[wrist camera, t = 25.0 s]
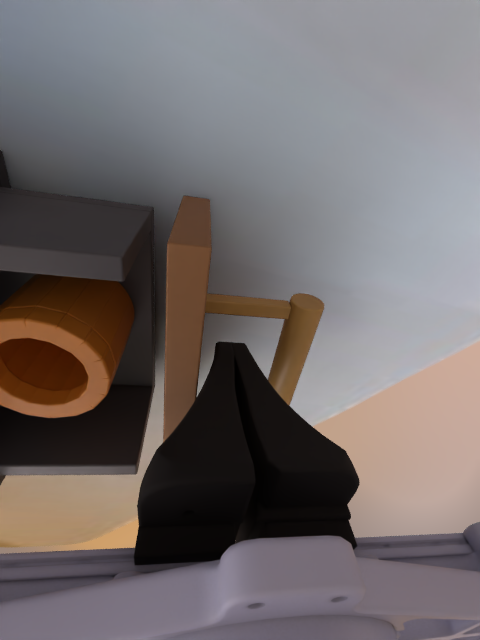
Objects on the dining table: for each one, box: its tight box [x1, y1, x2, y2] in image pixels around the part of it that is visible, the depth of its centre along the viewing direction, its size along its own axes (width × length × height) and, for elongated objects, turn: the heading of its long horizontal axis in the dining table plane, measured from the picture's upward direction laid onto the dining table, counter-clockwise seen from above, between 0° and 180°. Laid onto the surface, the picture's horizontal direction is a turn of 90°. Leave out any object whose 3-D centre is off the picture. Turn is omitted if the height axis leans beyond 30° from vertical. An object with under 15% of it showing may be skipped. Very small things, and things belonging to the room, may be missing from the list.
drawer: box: [0, 187, 324, 475], centre depth 13 cm, size 17×12×6 cm
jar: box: [0, 274, 134, 418], centre depth 13 cm, size 5×5×5 cm
